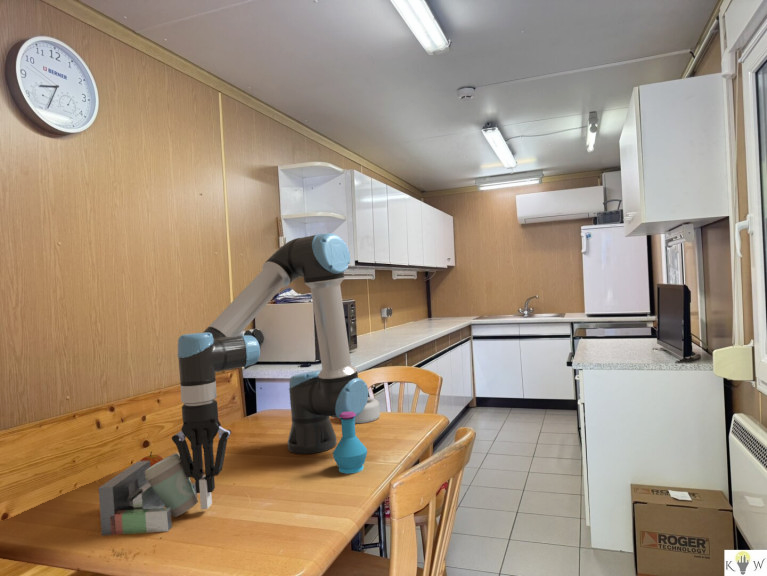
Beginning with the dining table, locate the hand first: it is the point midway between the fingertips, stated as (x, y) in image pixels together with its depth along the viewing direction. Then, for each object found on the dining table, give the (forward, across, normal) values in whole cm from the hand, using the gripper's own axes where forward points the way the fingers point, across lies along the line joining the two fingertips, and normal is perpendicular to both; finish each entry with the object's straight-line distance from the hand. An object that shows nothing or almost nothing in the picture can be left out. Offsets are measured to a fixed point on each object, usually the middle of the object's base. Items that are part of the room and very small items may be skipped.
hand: (206, 506), depth 112 cm
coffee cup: (0, +4, 0) cm, 5 cm away
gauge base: (+1, +12, 0) cm, 12 cm away
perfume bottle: (+2, -31, -22) cm, 38 cm away
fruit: (+2, +23, -22) cm, 32 cm away
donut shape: (+2, -30, -74) cm, 80 cm away
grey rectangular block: (+1, +16, +1) cm, 16 cm away
